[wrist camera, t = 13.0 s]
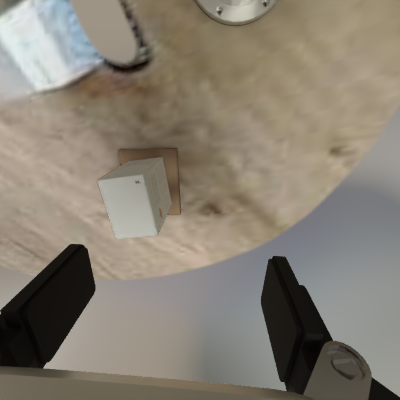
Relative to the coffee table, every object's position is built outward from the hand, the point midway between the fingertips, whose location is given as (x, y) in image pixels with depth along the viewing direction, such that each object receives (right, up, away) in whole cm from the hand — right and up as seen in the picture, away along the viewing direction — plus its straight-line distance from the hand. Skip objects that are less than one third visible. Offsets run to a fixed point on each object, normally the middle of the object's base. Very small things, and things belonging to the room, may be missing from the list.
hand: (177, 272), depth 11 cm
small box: (-7, +7, +24) cm, 26 cm away
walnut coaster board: (-7, +7, +25) cm, 26 cm away
